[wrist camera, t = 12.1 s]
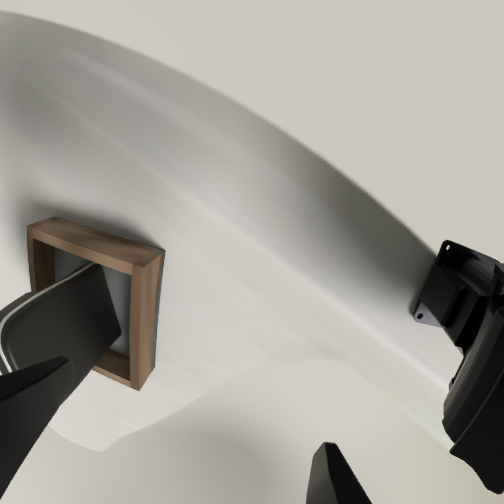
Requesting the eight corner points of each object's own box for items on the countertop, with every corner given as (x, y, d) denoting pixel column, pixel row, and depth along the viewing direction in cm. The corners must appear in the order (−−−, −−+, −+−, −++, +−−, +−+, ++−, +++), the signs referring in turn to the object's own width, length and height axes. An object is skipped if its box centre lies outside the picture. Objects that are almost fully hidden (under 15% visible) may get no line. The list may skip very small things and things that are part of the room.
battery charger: (71, 261, 22) (-30, 322, 11) (103, 258, 21) (-5, 329, 10) (93, 332, 24) (17, 409, 13) (125, 335, 23) (49, 425, 12)
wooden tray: (165, 251, 21) (143, 267, 18) (154, 367, 25) (139, 391, 21) (54, 216, 22) (26, 226, 18) (59, 323, 25) (39, 340, 22)
